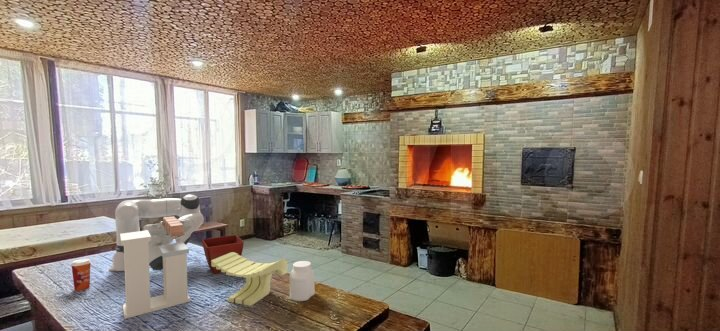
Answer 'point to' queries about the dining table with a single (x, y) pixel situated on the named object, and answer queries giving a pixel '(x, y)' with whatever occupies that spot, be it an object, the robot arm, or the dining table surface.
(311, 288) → the jar
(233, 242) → the plant pot
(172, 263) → the stand
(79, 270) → the paper cup
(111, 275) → the dining table surface
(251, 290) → the slatted curved stool
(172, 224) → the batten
